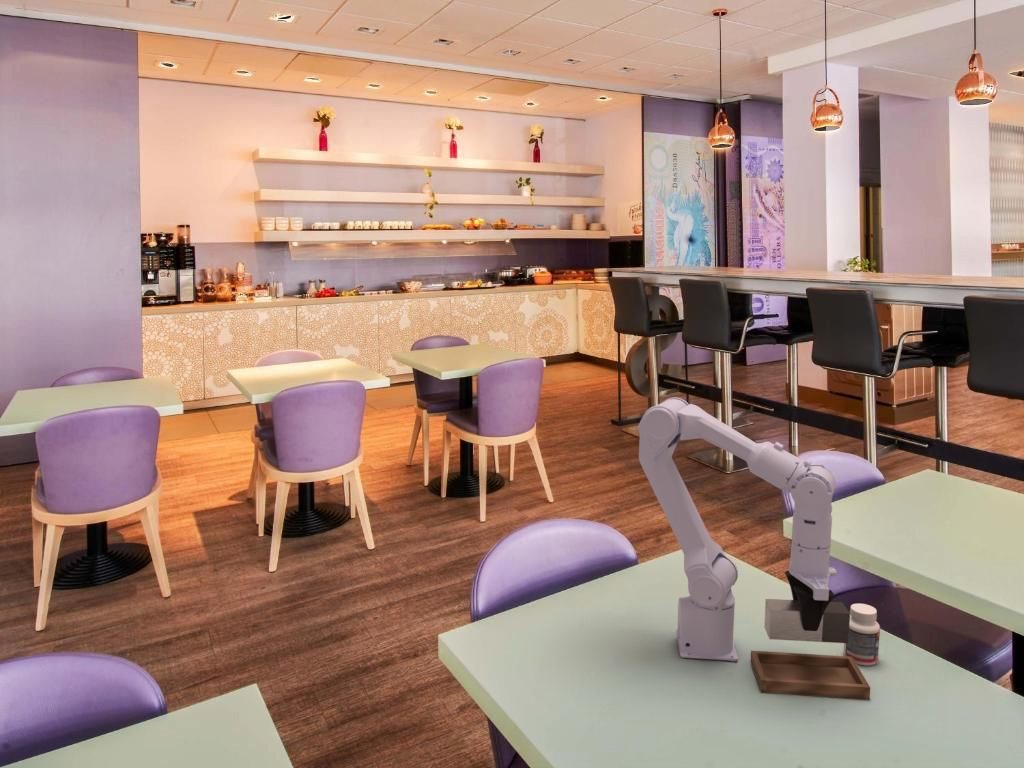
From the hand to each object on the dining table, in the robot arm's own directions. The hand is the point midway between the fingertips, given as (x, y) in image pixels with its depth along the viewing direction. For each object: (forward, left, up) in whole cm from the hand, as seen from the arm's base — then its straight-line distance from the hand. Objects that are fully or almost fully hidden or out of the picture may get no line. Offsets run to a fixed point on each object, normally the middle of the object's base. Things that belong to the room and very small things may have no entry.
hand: (806, 622), depth 118 cm
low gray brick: (0, 0, -2) cm, 2 cm away
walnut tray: (0, -2, -8) cm, 9 cm away
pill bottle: (+10, +5, -9) cm, 15 cm away
